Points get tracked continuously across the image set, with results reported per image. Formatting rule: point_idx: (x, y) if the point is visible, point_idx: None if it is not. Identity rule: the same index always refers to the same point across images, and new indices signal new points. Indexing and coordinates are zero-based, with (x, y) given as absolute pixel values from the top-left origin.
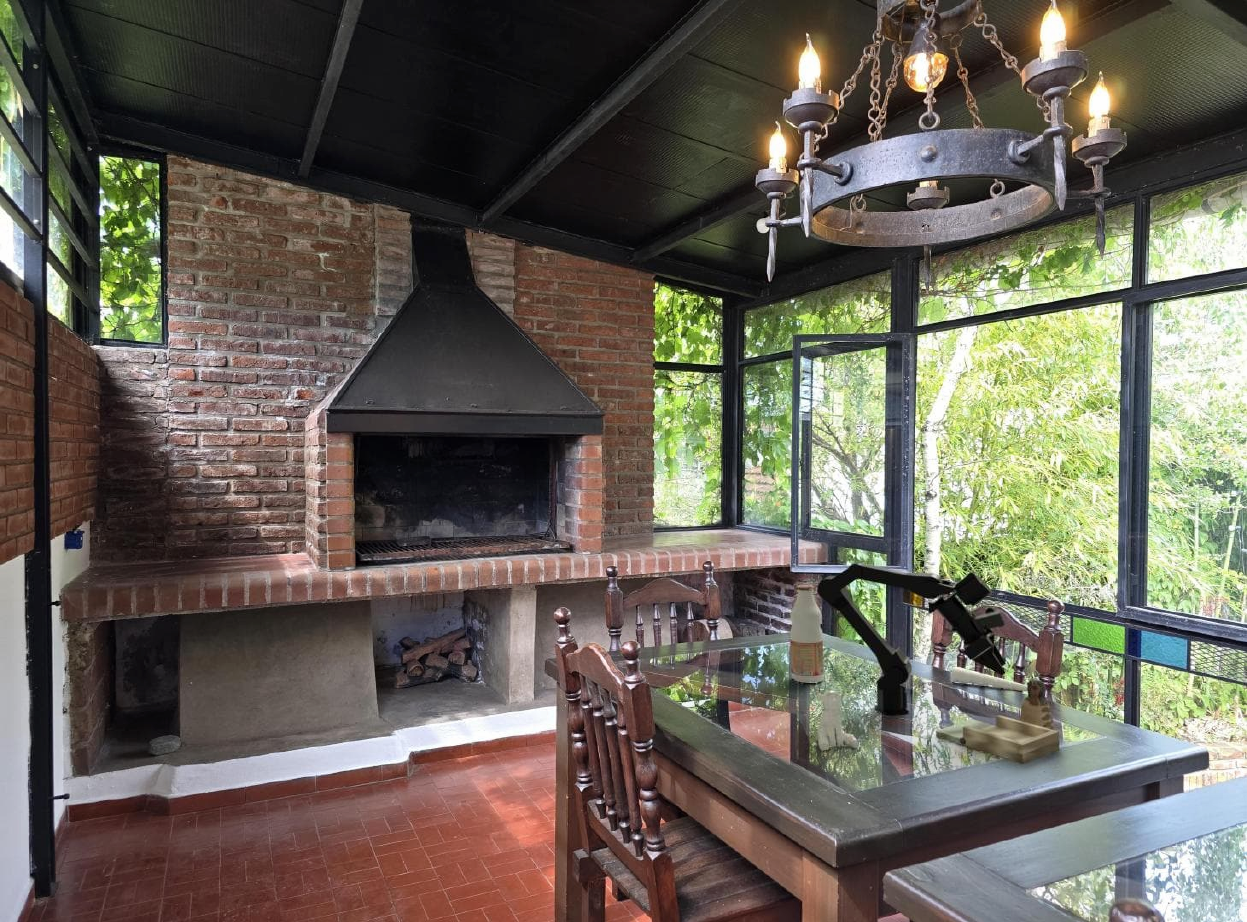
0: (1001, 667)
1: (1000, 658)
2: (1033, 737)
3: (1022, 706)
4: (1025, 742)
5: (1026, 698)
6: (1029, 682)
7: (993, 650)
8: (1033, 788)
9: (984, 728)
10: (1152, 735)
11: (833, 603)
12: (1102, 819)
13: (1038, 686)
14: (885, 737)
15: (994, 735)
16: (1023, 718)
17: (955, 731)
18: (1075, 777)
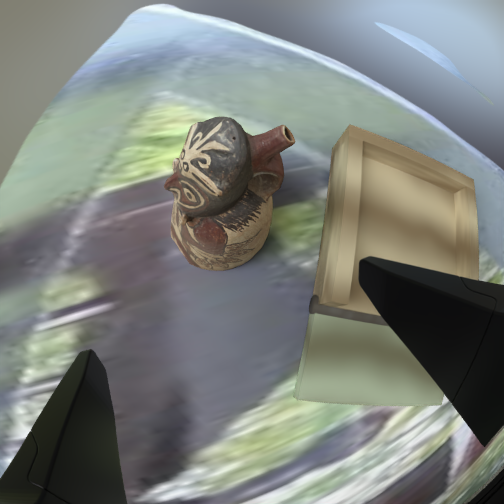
0: (410, 266)
1: (92, 392)
2: (429, 167)
3: (253, 237)
4: (461, 177)
5: (245, 214)
6: (244, 170)
7: (82, 472)
8: (494, 166)
9: (358, 331)
10: (105, 48)
11: None
12: (488, 100)
13: (249, 135)
14: (477, 452)
15: (474, 243)
16: (263, 241)
17: (422, 373)
18: (429, 118)
